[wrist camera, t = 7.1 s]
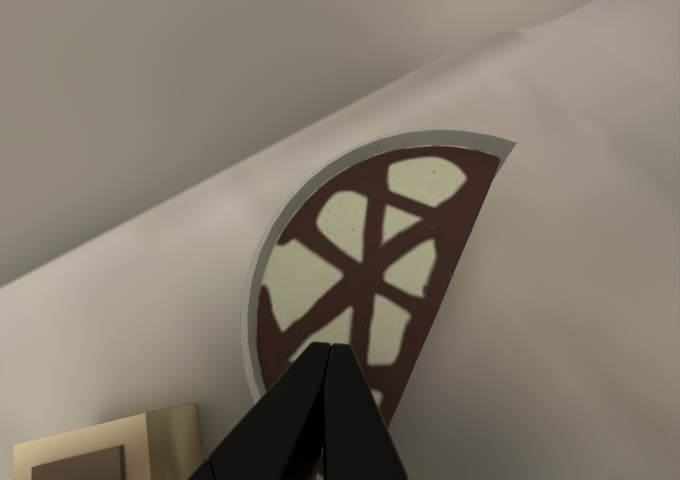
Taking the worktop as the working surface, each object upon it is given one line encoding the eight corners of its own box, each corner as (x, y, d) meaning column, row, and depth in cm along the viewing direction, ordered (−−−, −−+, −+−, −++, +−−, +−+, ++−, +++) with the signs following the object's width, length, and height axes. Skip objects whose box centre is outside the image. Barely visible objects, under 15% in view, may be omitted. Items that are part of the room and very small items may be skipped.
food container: (350, 187, 23) (343, 60, 14) (454, 231, 22) (523, 126, 13) (241, 397, 20) (134, 419, 11) (355, 460, 19) (349, 547, 10)
